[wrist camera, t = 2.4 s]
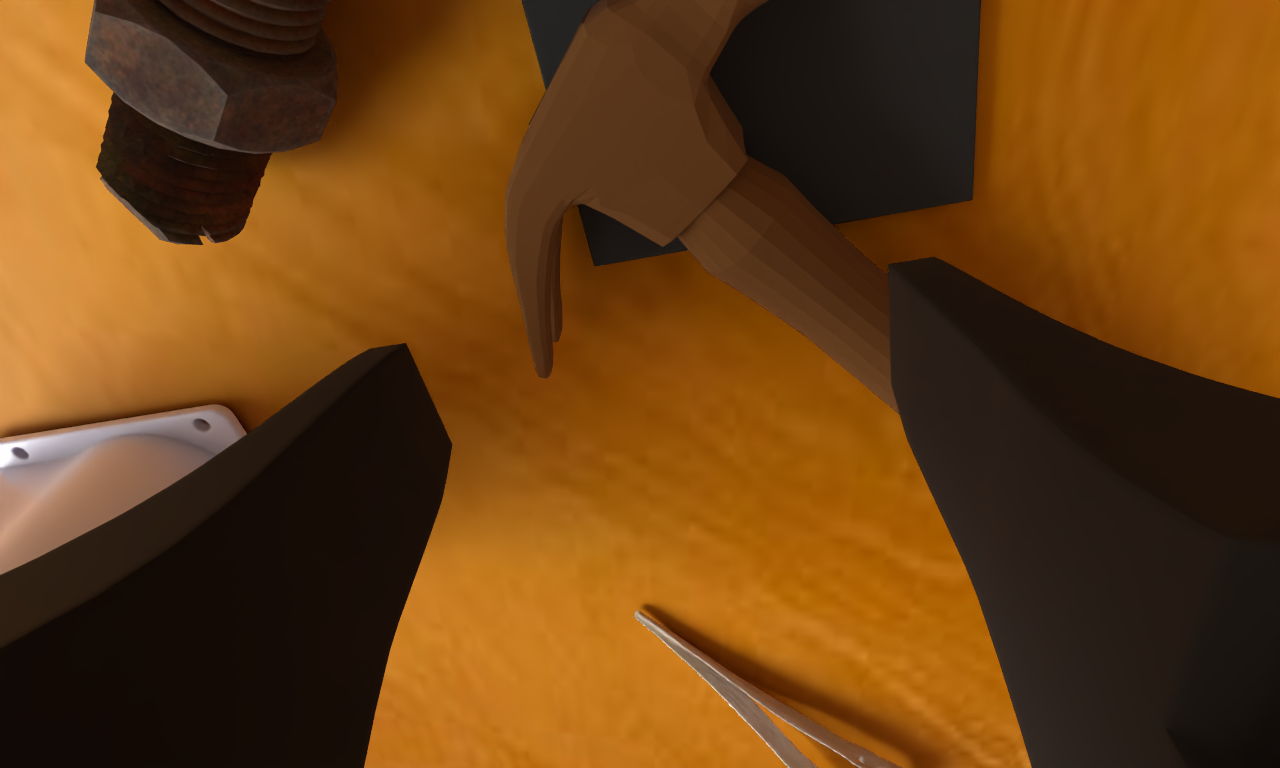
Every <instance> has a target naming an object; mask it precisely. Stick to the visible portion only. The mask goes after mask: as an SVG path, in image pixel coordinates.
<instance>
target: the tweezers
mask: <svg viewBox="0 0 1280 768" xmlns="http://www.w3.org/2000/svg"><path fill="white" fill-rule="evenodd" d="M634 617H635V618H636V619H637V620H638V621H639V622H641V623H642V624H643V625H644V626H646V627H647V628H648V629H649V630H650V631H652V632H653V633H654V634H655V635H656V636H658V637H659V638H660V639H661V640H662V641H663V642H664V643H665V644H666V645H667V646H668V647H669V648H670V649H672V650H673V651H674V652H675V653H676V654H677V655H678V656H679V657H680V658H682V659H683V660H684V661H685V662H686V663H687V664H688V665H690V666H691V667H692V668H693V669H694V670H695V671H696V672H697V673H698V674H699V675H700V676H701V677H702V678H703V679H704V680H705V681H706V682H707V683H708V684H709V685H710V686H711V687H712V688H713V689H714V690H715V691H716V692H717V693H718V694H719V695H720V696H721V697H722V698H723V699H724V700H726V701H727V702H728V704H729V705H730V706H731V707H732V708H733V709H734V710H735V711H736V712H737V713H738V714H739V715H740V716H741V717H742V718H743V719H744V720H745V721H746V722H747V724H748V725H750V726H751V727H752V728H753V729H754V731H755V732H756V733H757V734H758V735H759V736H760V737H761V738H762V739H763V740H764V741H765V742H766V743H767V745H768V746H769V747H770V748H771V749H772V750H773V751H774V752H775V754H776V755H777V756H778V757H779V758H780V759H781V760H782V762H783V763H784V764H785V765H786V766H787V767H788V768H818V767H817V766H816V765H815V764H814V763H812V762H811V761H810V760H809V759H808V758H807V757H806V756H804V755H803V754H802V753H801V752H800V751H799V750H798V749H797V748H796V747H795V746H794V745H793V743H792V742H791V741H790V740H789V739H788V738H787V737H786V736H785V735H784V734H783V733H782V732H781V731H780V729H779V728H778V727H777V726H776V725H775V724H774V723H773V722H772V721H771V720H770V719H769V717H768V716H767V715H766V714H765V713H764V712H763V711H762V710H761V708H760V707H759V706H758V705H757V704H756V703H755V702H754V701H753V700H752V699H751V698H753V699H754V700H755V701H757V702H758V703H759V704H761V705H762V706H764V707H765V708H767V709H768V710H769V711H771V712H772V713H773V714H775V715H776V716H778V717H780V718H781V719H783V720H784V721H786V722H787V723H789V724H790V725H792V726H793V727H795V728H796V729H798V730H800V731H801V732H803V733H805V734H806V735H808V736H810V737H812V738H813V739H815V740H817V741H818V742H820V743H822V744H823V745H825V746H827V747H828V748H830V749H832V750H833V751H835V752H836V753H838V754H840V755H841V756H843V757H844V758H846V759H847V760H848V761H849V762H851V763H852V764H854V765H855V766H857V767H859V768H901V767H899V766H897V765H895V764H893V763H891V762H889V761H887V760H885V759H883V758H880V757H878V756H877V755H876V754H874V753H873V752H871V751H869V750H867V749H865V748H863V747H861V746H859V745H856V744H854V743H852V742H849V741H847V740H844V739H843V738H841V737H839V736H837V735H836V734H834V733H832V732H831V731H829V730H827V729H826V728H824V727H822V726H821V725H819V724H818V723H816V722H814V721H812V720H811V719H809V718H807V717H806V716H804V715H802V714H801V713H799V712H797V711H796V710H794V709H792V708H790V707H789V706H787V705H785V704H783V703H782V702H780V701H778V700H776V699H775V698H773V697H771V696H770V695H768V694H766V693H764V692H763V691H761V690H759V689H758V688H756V687H754V686H753V685H751V684H749V683H748V682H746V681H744V680H743V679H741V678H740V677H738V676H737V675H735V674H734V673H732V672H730V671H729V670H727V669H726V668H724V667H723V666H721V665H720V664H719V663H717V662H716V661H714V660H713V659H711V658H710V657H709V656H707V655H706V654H704V653H703V652H701V651H700V650H698V649H697V648H695V647H694V646H692V645H691V644H689V643H688V642H687V641H685V640H683V639H682V638H680V637H679V636H677V635H676V634H674V633H673V632H671V631H670V630H668V629H667V628H665V627H663V626H662V625H660V624H659V623H657V622H656V621H654V620H652V619H651V618H649V617H648V616H646V615H645V614H643V613H642V612H640V611H638V610H636V611H635V614H634ZM748 695H749V696H750V697H751V698H750V697H748ZM858 759H859V760H860V761H861V762H862V763H861V762H860V761H858Z"/></svg>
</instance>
